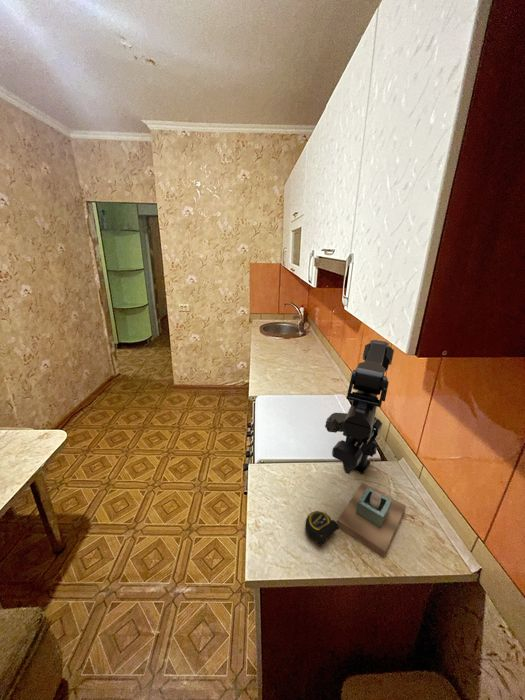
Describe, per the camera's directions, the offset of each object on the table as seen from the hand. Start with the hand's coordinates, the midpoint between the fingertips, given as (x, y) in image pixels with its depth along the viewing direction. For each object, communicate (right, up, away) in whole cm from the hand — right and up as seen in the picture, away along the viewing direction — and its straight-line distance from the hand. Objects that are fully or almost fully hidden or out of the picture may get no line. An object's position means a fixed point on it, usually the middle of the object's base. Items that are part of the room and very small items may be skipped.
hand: (354, 462), depth 79 cm
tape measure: (-10, -15, -6) cm, 19 cm away
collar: (+4, -12, -3) cm, 13 cm away
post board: (+4, -14, -2) cm, 14 cm away
